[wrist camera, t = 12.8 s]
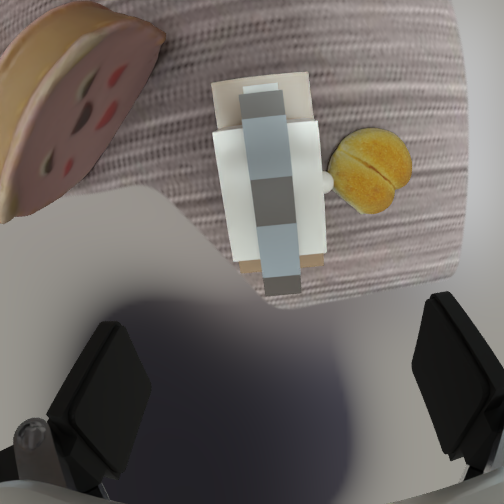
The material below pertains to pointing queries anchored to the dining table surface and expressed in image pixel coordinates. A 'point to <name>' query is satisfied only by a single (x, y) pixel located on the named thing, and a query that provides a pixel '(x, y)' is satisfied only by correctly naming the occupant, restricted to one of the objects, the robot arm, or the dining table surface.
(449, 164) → the dining table surface
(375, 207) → the bread roll
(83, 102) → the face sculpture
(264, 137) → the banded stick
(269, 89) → the white block on board
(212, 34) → the dining table surface
